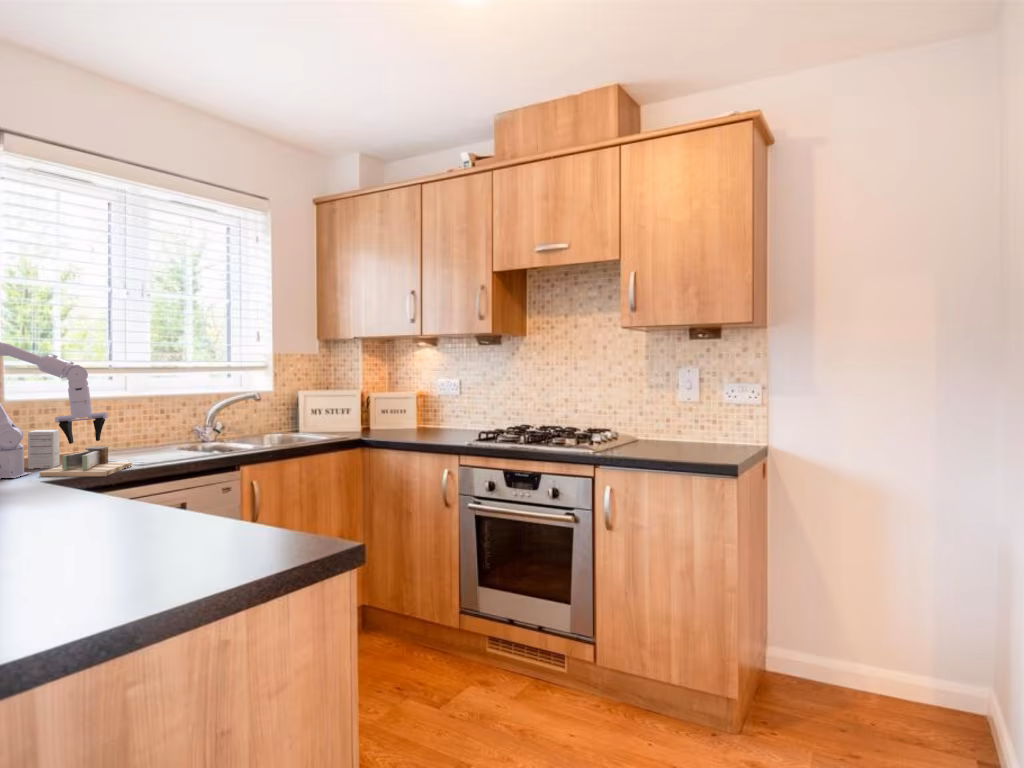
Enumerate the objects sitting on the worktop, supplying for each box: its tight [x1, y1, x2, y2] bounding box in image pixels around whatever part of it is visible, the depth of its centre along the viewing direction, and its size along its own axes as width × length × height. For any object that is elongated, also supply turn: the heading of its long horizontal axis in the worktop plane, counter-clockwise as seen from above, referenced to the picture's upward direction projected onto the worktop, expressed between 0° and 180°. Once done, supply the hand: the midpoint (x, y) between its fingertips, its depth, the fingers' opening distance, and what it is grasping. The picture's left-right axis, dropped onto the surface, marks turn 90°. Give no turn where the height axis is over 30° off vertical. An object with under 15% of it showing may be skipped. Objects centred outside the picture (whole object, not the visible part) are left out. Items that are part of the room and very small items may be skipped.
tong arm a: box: [82, 450, 100, 470], centre depth 208 cm, size 14×1×5 cm, turn 19°
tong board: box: [39, 446, 133, 477], centre depth 209 cm, size 20×19×7 cm
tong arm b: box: [61, 450, 95, 470], centre depth 208 cm, size 14×1×5 cm, turn 1°
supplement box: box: [27, 429, 60, 470], centre depth 216 cm, size 7×7×13 cm
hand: (84, 441), depth 208 cm, fingers open, 7 cm apart
